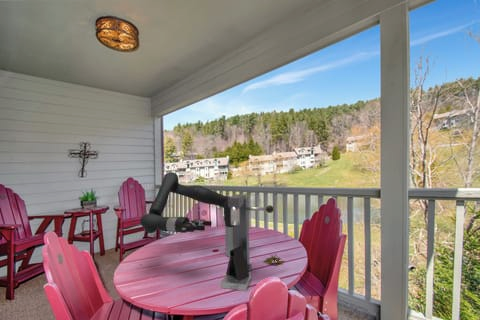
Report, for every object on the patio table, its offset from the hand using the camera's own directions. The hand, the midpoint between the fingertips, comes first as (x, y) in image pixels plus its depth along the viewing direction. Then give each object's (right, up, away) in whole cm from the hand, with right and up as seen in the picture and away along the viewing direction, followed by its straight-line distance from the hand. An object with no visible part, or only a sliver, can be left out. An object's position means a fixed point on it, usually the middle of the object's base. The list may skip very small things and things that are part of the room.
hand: (208, 225), depth 106 cm
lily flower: (+34, -24, +14) cm, 44 cm away
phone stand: (+14, -21, -6) cm, 26 cm away
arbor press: (+20, -23, -5) cm, 31 cm away
